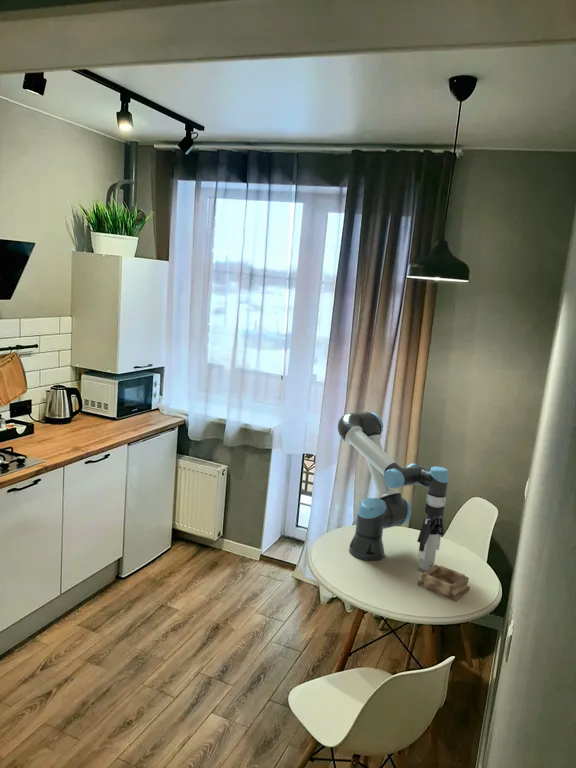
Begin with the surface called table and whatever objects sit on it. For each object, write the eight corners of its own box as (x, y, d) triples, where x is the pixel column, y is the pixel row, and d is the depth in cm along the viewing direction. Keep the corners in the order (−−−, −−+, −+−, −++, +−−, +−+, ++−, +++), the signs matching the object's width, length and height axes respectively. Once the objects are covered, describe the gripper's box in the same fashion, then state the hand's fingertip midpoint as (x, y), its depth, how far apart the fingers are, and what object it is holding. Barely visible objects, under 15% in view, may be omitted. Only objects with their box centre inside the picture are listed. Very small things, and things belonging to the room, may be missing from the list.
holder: (417, 585, 224) (418, 573, 223) (432, 574, 235) (434, 562, 234) (455, 601, 214) (457, 589, 213) (470, 589, 225) (472, 577, 224)
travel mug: (434, 574, 235) (441, 528, 232) (418, 571, 237) (424, 525, 234) (433, 567, 241) (440, 522, 239) (417, 564, 243) (424, 520, 240)
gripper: (430, 514, 223) (423, 565, 226) (456, 501, 242) (449, 548, 245) (413, 508, 228) (406, 558, 230) (439, 496, 247) (433, 542, 250)
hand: (428, 553), depth 238 cm, fingers open, 13 cm apart
